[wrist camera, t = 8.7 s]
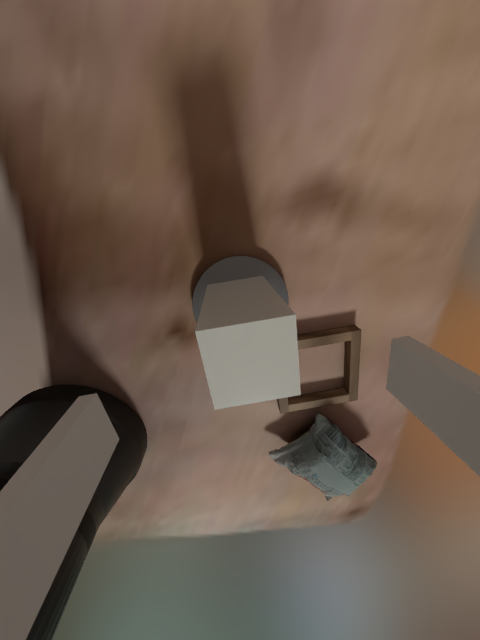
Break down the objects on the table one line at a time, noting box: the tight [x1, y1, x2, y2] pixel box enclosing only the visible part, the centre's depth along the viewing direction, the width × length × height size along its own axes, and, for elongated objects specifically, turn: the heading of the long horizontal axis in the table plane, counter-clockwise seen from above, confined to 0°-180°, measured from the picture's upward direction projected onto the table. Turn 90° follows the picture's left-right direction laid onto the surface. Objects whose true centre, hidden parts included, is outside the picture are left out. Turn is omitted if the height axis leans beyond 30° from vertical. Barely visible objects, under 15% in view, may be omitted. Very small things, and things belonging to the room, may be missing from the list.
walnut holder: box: [277, 325, 361, 413], centre depth 25 cm, size 9×9×1 cm
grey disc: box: [192, 255, 288, 323], centre depth 22 cm, size 9×9×1 cm
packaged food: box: [269, 414, 377, 501], centre depth 28 cm, size 9×12×5 cm
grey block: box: [195, 276, 301, 410], centre depth 17 cm, size 5×5×10 cm
